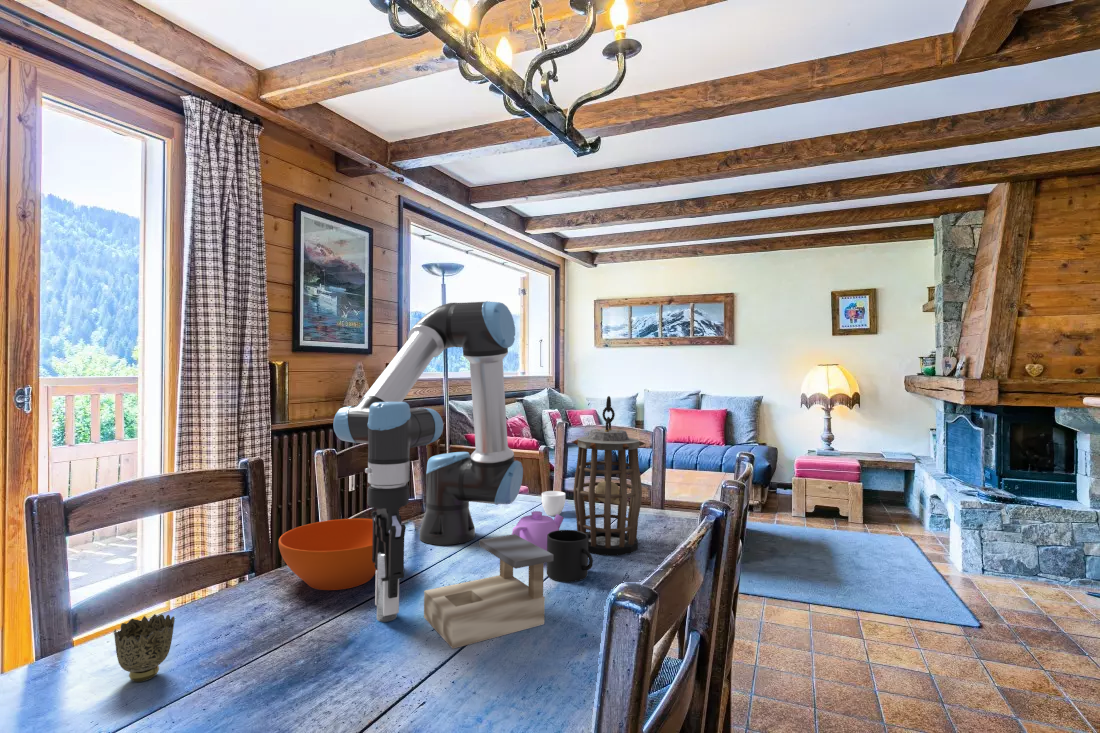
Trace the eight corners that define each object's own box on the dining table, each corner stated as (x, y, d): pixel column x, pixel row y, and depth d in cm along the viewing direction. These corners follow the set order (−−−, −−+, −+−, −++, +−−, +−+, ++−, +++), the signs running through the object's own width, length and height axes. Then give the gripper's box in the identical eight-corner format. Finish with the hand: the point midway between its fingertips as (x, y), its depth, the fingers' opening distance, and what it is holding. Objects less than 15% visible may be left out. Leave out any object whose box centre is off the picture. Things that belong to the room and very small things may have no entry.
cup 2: (134, 665, 89) (135, 613, 89) (183, 663, 89) (184, 612, 89) (100, 692, 81) (101, 636, 81) (155, 690, 82) (155, 634, 82)
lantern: (636, 561, 140) (638, 398, 140) (561, 552, 146) (563, 396, 146) (648, 539, 158) (650, 395, 158) (581, 532, 164) (583, 393, 165)
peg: (374, 615, 107) (375, 552, 107) (393, 611, 109) (394, 549, 109) (379, 623, 104) (380, 557, 104) (399, 618, 106) (400, 554, 106)
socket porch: (422, 616, 107) (423, 548, 108) (513, 595, 118) (514, 534, 118) (453, 650, 95) (454, 573, 95) (552, 623, 105) (553, 554, 105)
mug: (578, 589, 122) (579, 547, 122) (538, 575, 130) (538, 535, 130) (605, 577, 129) (605, 537, 129) (565, 564, 137) (565, 527, 137)
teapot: (582, 548, 149) (582, 508, 149) (535, 569, 133) (536, 524, 133) (540, 538, 158) (540, 500, 158) (491, 557, 141) (492, 514, 142)
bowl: (421, 578, 127) (421, 533, 127) (309, 612, 109) (310, 560, 109) (364, 552, 144) (364, 512, 144) (259, 578, 126) (259, 533, 126)
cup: (536, 514, 183) (536, 493, 183) (553, 508, 191) (554, 488, 191) (556, 518, 179) (556, 497, 179) (573, 512, 187) (573, 491, 187)
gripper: (356, 478, 112) (354, 596, 112) (381, 495, 97) (379, 631, 97) (394, 474, 116) (392, 589, 116) (423, 490, 101) (422, 622, 101)
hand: (386, 608), depth 107 cm, fingers open, 4 cm apart
